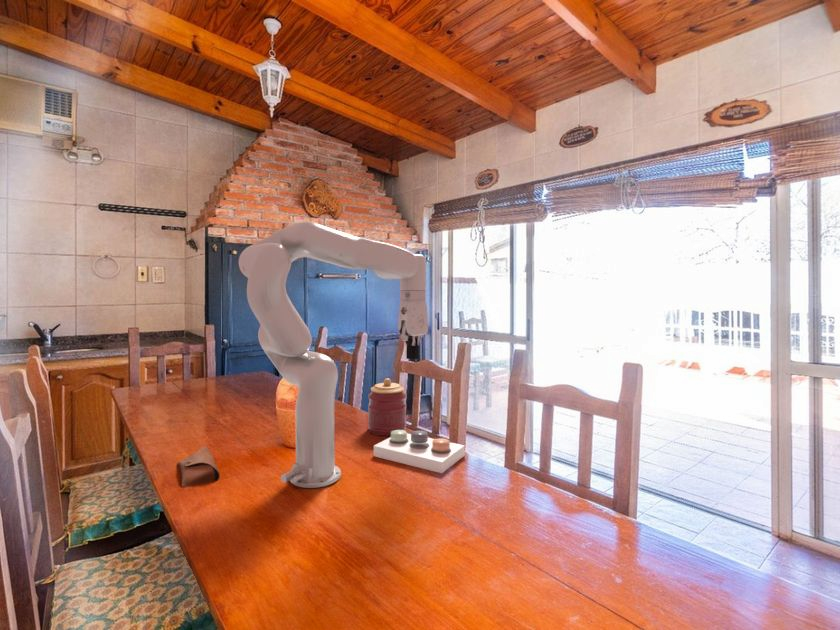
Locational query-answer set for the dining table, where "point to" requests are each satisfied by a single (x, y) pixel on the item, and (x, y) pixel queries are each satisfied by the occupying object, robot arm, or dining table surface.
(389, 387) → the canister
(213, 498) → the dining table surface
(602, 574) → the dining table surface
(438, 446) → the terracotta button
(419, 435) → the charcoal button
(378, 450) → the panel
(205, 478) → the sunglasses case
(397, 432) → the sage button
